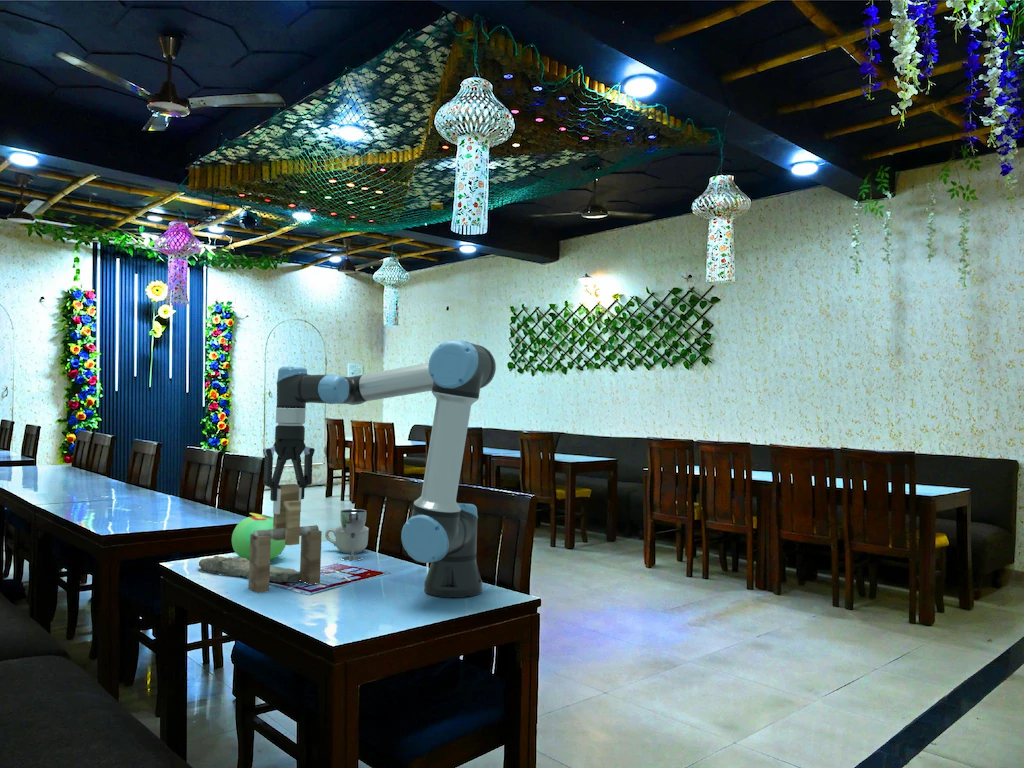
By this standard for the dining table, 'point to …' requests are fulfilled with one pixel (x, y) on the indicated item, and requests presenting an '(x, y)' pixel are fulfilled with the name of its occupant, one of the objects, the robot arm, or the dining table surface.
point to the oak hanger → (289, 514)
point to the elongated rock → (245, 569)
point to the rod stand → (261, 556)
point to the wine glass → (353, 527)
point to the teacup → (348, 540)
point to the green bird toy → (248, 527)
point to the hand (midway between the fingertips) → (286, 512)
